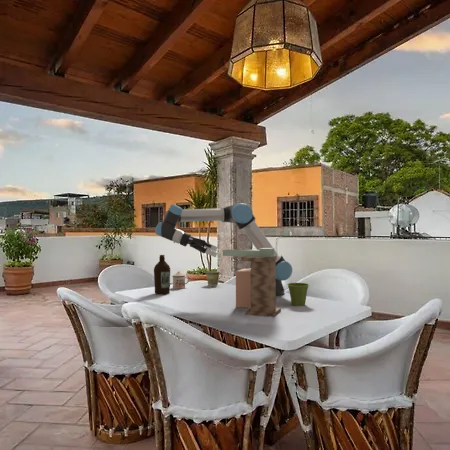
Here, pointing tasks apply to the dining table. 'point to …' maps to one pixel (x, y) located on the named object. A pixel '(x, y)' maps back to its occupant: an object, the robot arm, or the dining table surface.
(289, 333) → the dining table surface
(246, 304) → the reddish brown block
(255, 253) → the handle rail
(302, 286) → the plant pot
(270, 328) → the dining table surface
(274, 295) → the tall stand
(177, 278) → the teacup with lid
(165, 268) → the olive oil
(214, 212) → the robot arm
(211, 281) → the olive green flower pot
